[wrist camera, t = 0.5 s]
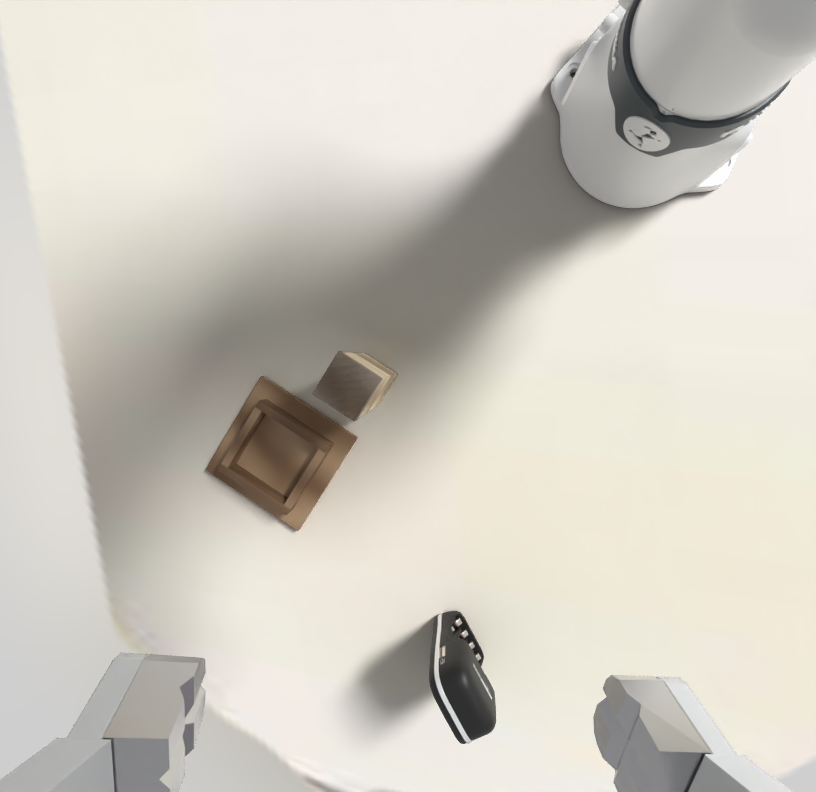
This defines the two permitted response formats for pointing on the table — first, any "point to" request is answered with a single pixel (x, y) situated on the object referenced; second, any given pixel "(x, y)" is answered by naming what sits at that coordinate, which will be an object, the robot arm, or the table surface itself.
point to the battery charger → (460, 679)
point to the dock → (281, 453)
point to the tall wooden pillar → (354, 384)
